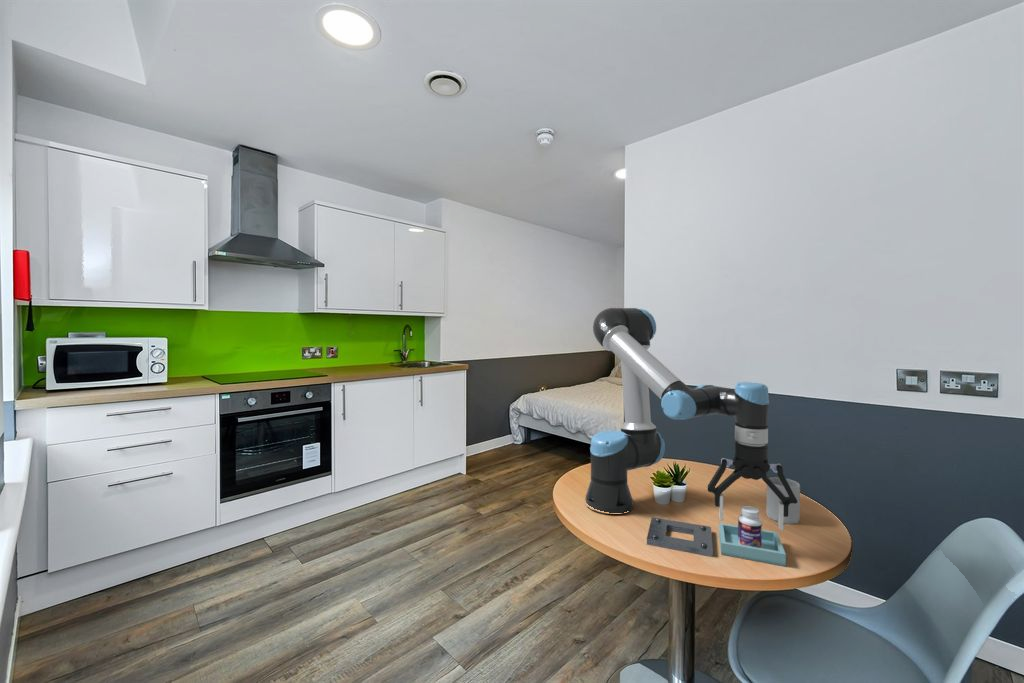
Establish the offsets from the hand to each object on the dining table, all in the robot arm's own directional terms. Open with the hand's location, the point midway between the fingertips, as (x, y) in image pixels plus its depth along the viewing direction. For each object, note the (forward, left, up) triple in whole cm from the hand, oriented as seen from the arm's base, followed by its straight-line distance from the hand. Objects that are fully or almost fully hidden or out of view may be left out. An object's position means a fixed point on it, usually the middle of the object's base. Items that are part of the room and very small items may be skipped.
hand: (749, 523), depth 110 cm
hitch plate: (-17, -1, -7) cm, 18 cm away
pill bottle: (0, 0, -6) cm, 6 cm away
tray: (0, 0, -7) cm, 7 cm away
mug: (+11, +26, -7) cm, 29 cm away
